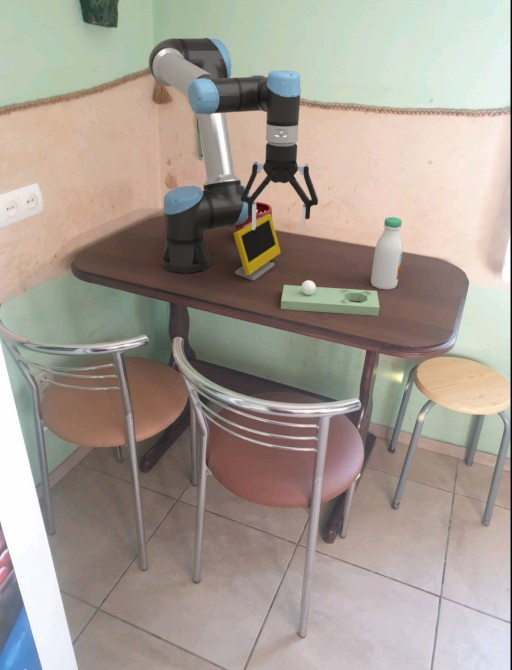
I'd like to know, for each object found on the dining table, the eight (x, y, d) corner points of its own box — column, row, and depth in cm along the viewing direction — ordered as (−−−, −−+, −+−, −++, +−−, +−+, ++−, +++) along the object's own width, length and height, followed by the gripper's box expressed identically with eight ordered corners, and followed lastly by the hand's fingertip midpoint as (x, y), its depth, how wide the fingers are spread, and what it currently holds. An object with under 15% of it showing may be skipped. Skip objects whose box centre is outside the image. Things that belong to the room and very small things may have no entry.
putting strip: (280, 308, 146) (281, 300, 145) (283, 292, 155) (283, 284, 153) (378, 315, 144) (379, 307, 142) (375, 299, 152) (376, 290, 151)
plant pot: (236, 232, 196) (236, 200, 190) (272, 235, 195) (274, 202, 189) (230, 245, 185) (230, 211, 179) (268, 248, 184) (269, 214, 178)
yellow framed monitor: (249, 285, 158) (250, 234, 150) (226, 279, 162) (226, 229, 154) (280, 262, 173) (282, 214, 165) (259, 257, 177) (260, 210, 169)
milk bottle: (391, 292, 156) (402, 225, 146) (366, 286, 159) (375, 220, 149) (400, 283, 162) (411, 218, 151) (376, 277, 165) (385, 213, 155)
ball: (300, 297, 147) (301, 283, 145) (301, 290, 150) (301, 277, 148) (315, 298, 147) (316, 284, 144) (315, 291, 150) (316, 278, 148)
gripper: (229, 143, 127) (229, 231, 138) (332, 148, 125) (325, 237, 136) (233, 137, 134) (234, 222, 145) (332, 141, 131) (325, 227, 142)
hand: (278, 229), depth 140 cm, fingers open, 12 cm apart
